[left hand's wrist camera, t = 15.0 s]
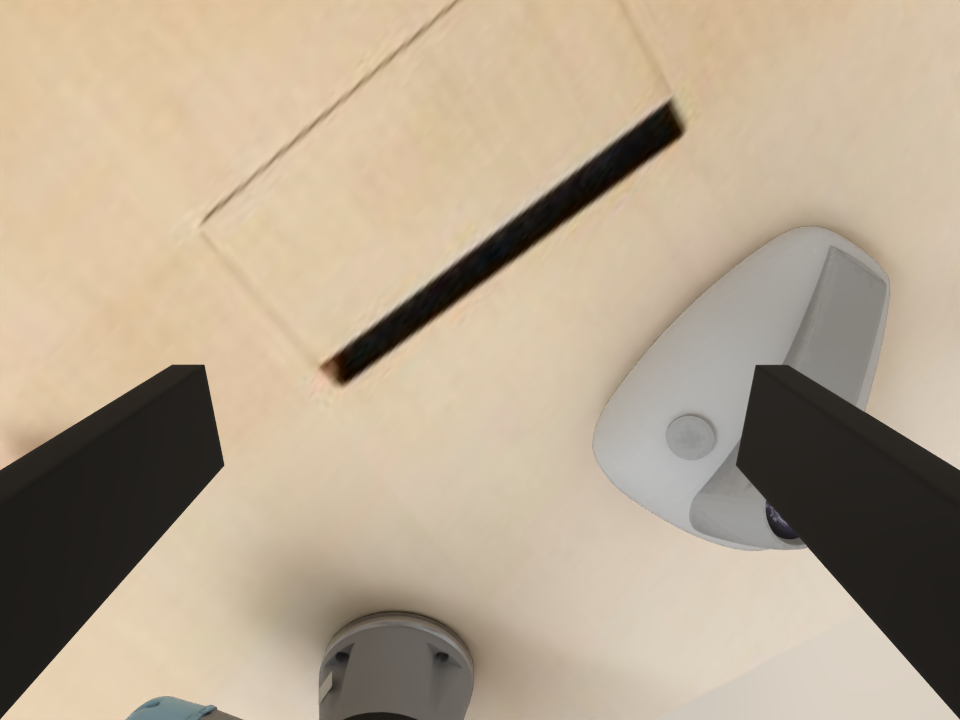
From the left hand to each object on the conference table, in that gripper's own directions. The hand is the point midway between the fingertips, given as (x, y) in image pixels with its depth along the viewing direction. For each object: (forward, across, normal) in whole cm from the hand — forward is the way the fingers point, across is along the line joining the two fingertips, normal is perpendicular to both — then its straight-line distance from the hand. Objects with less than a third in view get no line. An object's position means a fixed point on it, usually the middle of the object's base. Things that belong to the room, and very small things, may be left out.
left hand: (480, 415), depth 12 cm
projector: (+27, -20, +9) cm, 35 cm away
